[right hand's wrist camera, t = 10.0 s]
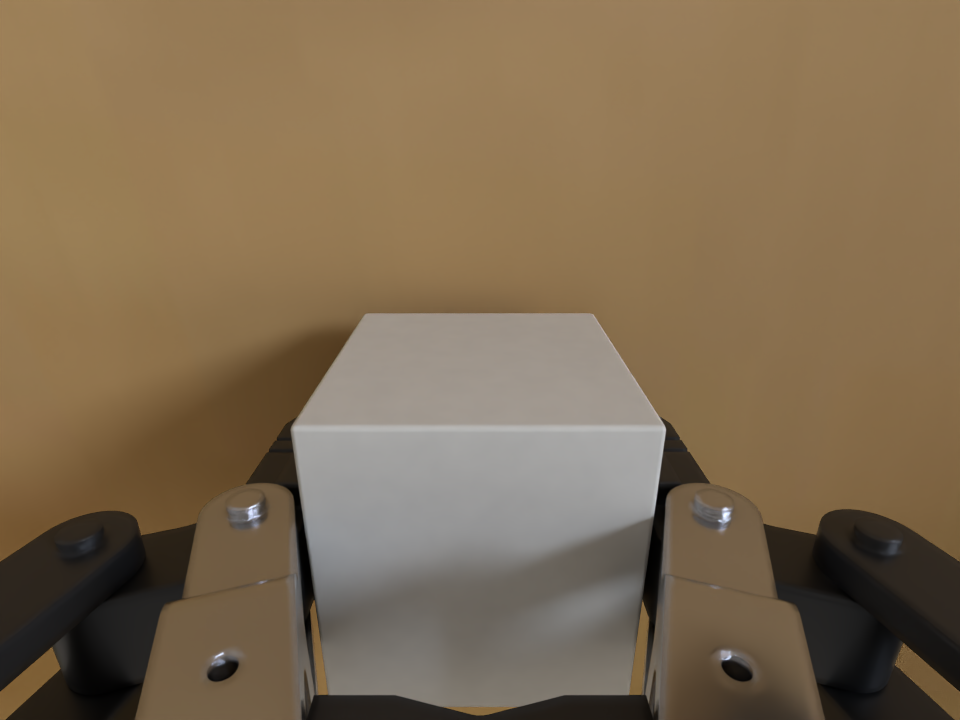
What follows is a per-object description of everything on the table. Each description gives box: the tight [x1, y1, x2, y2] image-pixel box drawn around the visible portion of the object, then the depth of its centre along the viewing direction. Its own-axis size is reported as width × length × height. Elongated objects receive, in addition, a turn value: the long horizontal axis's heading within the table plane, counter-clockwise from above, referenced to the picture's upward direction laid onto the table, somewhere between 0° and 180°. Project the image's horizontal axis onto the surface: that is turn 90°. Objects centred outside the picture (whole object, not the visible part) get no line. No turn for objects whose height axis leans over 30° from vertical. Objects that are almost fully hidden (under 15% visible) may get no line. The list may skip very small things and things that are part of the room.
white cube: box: [291, 313, 666, 707], centre depth 10 cm, size 5×5×5 cm
